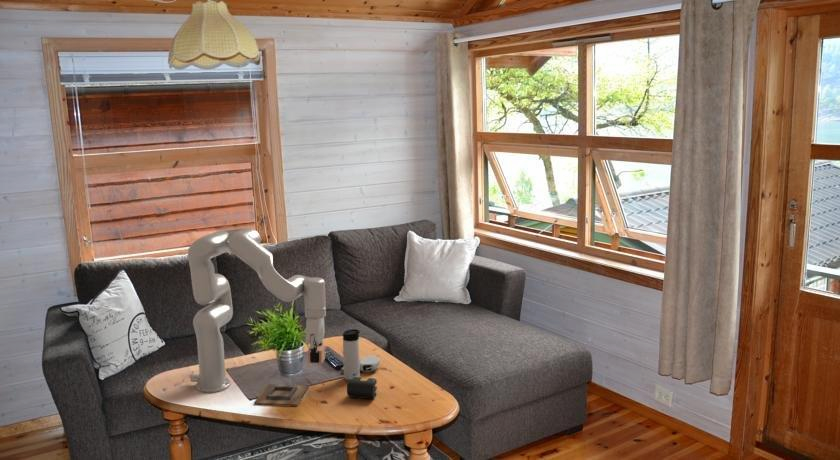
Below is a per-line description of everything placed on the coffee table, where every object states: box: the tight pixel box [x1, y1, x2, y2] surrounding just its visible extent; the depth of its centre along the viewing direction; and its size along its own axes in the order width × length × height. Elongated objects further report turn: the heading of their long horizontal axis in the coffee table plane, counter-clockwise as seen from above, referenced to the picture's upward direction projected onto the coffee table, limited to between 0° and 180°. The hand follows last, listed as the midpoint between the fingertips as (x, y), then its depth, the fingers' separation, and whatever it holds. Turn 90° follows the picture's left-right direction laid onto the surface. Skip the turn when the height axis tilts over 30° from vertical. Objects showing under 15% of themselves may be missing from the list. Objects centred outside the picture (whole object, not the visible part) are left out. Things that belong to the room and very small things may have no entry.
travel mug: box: [342, 329, 361, 382], centre depth 270 cm, size 6×7×20 cm
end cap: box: [346, 376, 378, 400], centre depth 255 cm, size 10×7×7 cm
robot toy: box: [340, 354, 381, 373], centre depth 281 cm, size 12×4×15 cm
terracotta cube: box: [307, 345, 326, 365], centre depth 252 cm, size 5×5×5 cm
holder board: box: [253, 383, 310, 407], centre depth 256 cm, size 16×16×2 cm
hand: (316, 358), depth 252 cm, fingers closed on terracotta cube, 4 cm apart
